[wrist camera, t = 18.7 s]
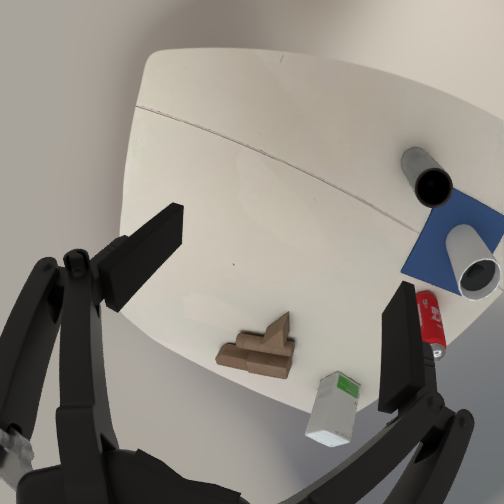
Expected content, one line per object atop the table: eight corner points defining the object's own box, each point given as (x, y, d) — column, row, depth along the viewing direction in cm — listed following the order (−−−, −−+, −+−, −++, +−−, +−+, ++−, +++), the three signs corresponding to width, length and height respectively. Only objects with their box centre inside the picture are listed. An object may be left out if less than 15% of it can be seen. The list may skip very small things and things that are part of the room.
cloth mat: (443, 183, 33) (444, 184, 33) (509, 219, 31) (510, 220, 31) (400, 271, 43) (400, 272, 43) (463, 295, 41) (464, 297, 40)
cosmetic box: (361, 384, 61) (352, 442, 48) (342, 393, 65) (330, 448, 52) (336, 369, 60) (324, 430, 48) (317, 379, 64) (303, 436, 52)
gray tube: (437, 161, 32) (460, 186, 24) (418, 185, 35) (435, 216, 27) (413, 140, 32) (432, 158, 24) (394, 164, 35) (406, 190, 27)
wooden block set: (289, 384, 59) (214, 368, 65) (295, 364, 63) (223, 351, 69) (287, 333, 50) (196, 318, 56) (294, 312, 55) (208, 300, 61)
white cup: (436, 252, 39) (449, 293, 31) (453, 215, 35) (474, 251, 27) (467, 264, 37) (484, 305, 29) (486, 229, 33) (509, 267, 26)
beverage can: (409, 291, 44) (415, 345, 35) (437, 287, 42) (448, 340, 32) (409, 313, 46) (413, 366, 37) (436, 310, 44) (444, 362, 34)
